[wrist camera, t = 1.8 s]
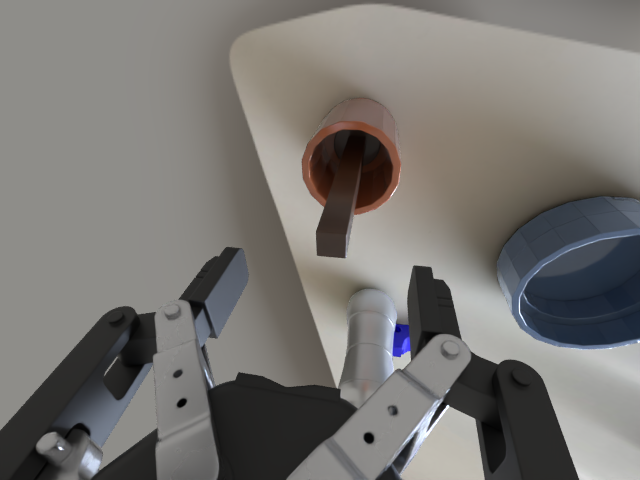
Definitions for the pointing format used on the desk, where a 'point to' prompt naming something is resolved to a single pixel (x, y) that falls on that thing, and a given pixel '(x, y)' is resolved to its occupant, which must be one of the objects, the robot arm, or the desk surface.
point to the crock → (375, 176)
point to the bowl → (577, 274)
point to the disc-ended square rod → (344, 191)
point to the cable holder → (401, 340)
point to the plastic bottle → (368, 345)
